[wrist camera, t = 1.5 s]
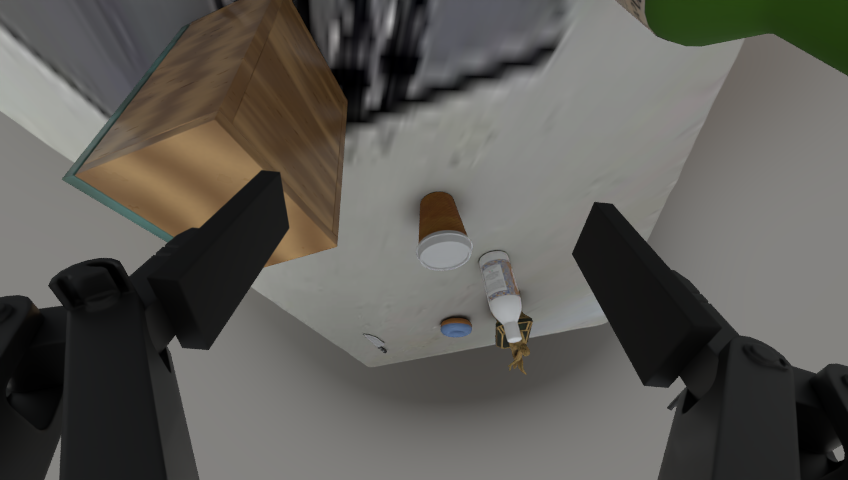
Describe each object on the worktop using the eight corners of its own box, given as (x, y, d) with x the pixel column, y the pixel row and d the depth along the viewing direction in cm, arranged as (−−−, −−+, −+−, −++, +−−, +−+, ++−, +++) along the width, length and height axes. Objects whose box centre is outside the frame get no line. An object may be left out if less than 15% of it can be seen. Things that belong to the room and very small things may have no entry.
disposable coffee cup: (472, 200, 63) (485, 253, 56) (436, 226, 68) (444, 277, 61) (437, 176, 57) (446, 231, 50) (400, 206, 62) (404, 260, 55)
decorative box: (487, 291, 93) (504, 363, 82) (522, 286, 93) (544, 358, 81) (488, 319, 109) (502, 383, 98) (518, 314, 109) (536, 378, 97)
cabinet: (276, 127, 47) (235, 275, 33) (191, 22, 36) (73, 175, 22) (347, 101, 45) (337, 246, 30) (280, -20, 34) (214, 119, 19)
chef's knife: (371, 331, 108) (362, 333, 108) (371, 334, 107) (362, 336, 108) (391, 349, 123) (384, 351, 123) (392, 352, 122) (384, 354, 123)
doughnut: (440, 328, 112) (442, 342, 109) (438, 316, 104) (440, 330, 101) (470, 324, 112) (472, 338, 109) (470, 312, 104) (473, 326, 101)
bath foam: (506, 263, 82) (529, 343, 70) (478, 267, 82) (496, 348, 71) (508, 247, 77) (534, 331, 65) (478, 252, 77) (498, 336, 65)
